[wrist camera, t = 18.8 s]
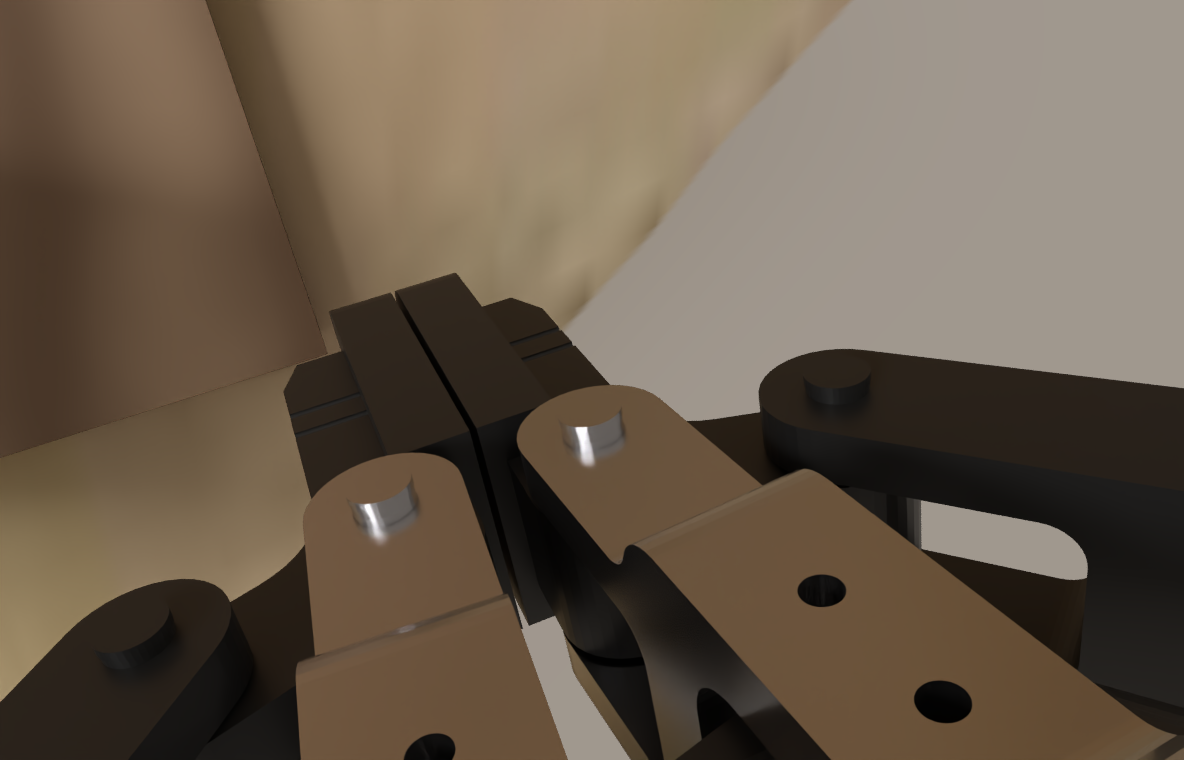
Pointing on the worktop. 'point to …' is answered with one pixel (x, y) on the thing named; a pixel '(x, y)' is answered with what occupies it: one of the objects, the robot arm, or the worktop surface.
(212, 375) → the base board
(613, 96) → the worktop surface
